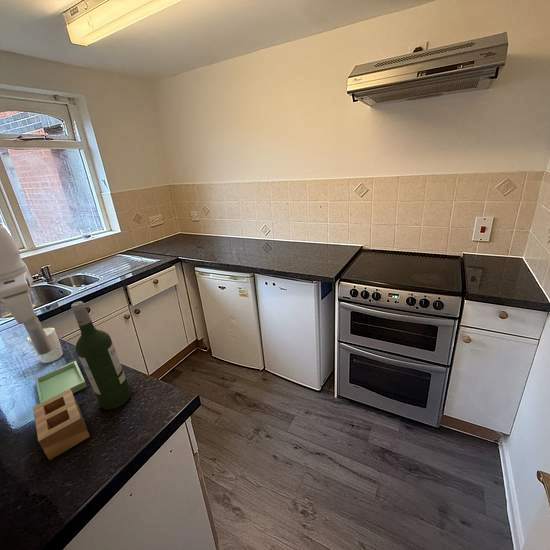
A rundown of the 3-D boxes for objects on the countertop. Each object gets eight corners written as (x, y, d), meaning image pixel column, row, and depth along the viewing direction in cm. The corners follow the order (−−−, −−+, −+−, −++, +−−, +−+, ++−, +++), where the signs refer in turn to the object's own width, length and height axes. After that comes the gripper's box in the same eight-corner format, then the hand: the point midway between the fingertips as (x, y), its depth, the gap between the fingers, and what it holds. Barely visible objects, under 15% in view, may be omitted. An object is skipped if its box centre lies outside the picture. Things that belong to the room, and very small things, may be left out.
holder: (42, 424, 78) (32, 406, 75) (78, 405, 82) (70, 388, 80) (49, 460, 67) (38, 441, 65) (89, 436, 72) (80, 418, 70)
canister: (35, 354, 86) (17, 318, 82) (46, 347, 89) (29, 312, 85) (44, 355, 85) (26, 318, 81) (55, 347, 88) (38, 312, 84)
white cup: (38, 358, 108) (26, 334, 104) (64, 348, 112) (53, 325, 109) (40, 367, 102) (27, 343, 98) (66, 356, 107) (55, 332, 103)
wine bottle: (137, 394, 84) (101, 298, 73) (110, 414, 78) (66, 314, 67) (122, 385, 88) (85, 294, 77) (95, 404, 82) (51, 308, 71)
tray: (37, 383, 94) (35, 378, 93) (77, 365, 101) (75, 360, 100) (42, 408, 83) (39, 403, 82) (87, 386, 90) (84, 381, 89)
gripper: (-5, 277, 84) (17, 319, 90) (-6, 294, 70) (20, 344, 75) (23, 270, 88) (42, 311, 93) (27, 285, 73) (50, 333, 79)
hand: (32, 326), depth 84 cm, fingers closed on canister, 3 cm apart
